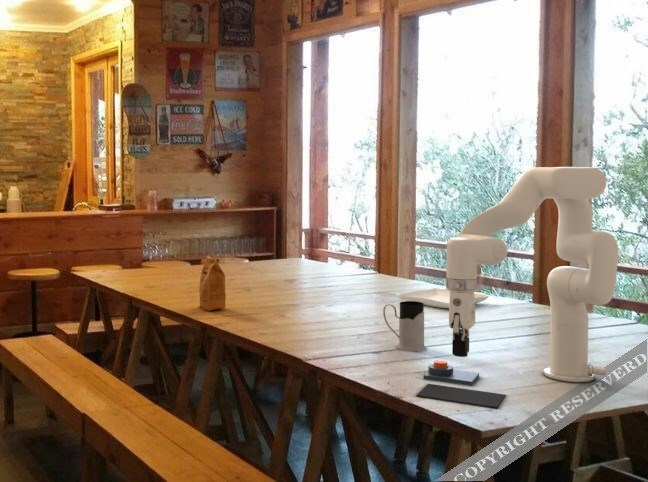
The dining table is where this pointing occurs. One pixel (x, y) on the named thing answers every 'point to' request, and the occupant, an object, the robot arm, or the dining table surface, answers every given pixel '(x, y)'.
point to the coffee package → (212, 285)
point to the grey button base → (451, 375)
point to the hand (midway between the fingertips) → (460, 352)
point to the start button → (440, 364)
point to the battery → (466, 344)
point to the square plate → (434, 297)
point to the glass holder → (410, 325)
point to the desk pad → (461, 395)
